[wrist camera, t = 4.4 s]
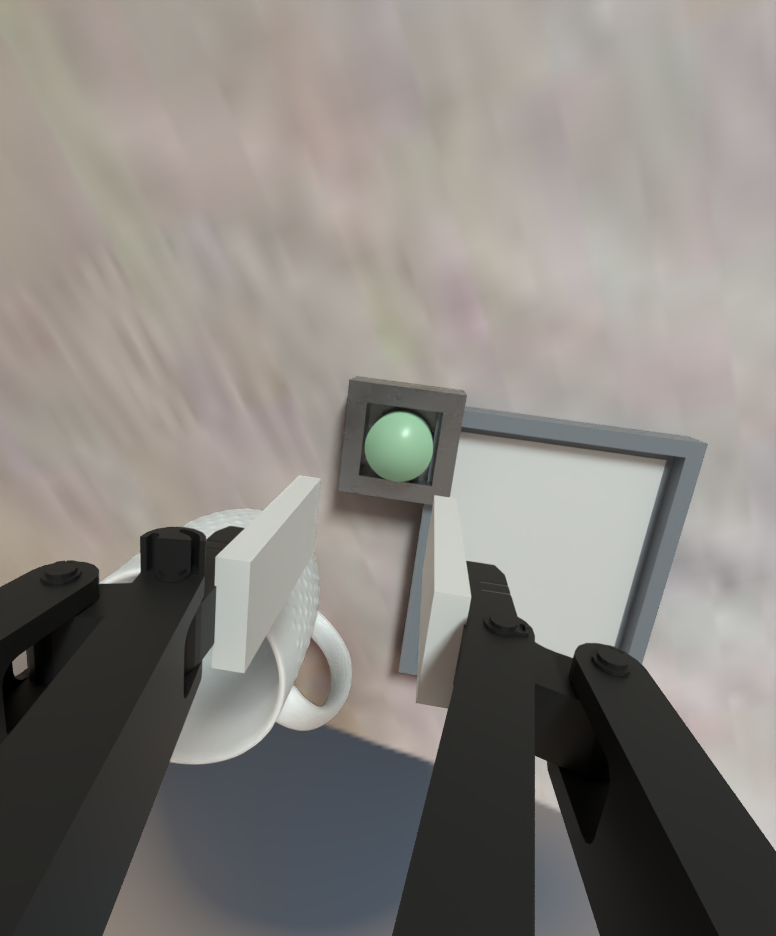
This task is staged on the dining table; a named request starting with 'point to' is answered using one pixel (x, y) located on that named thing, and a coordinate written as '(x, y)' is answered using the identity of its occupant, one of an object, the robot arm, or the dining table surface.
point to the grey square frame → (385, 396)
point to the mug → (259, 669)
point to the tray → (567, 524)
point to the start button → (399, 446)
